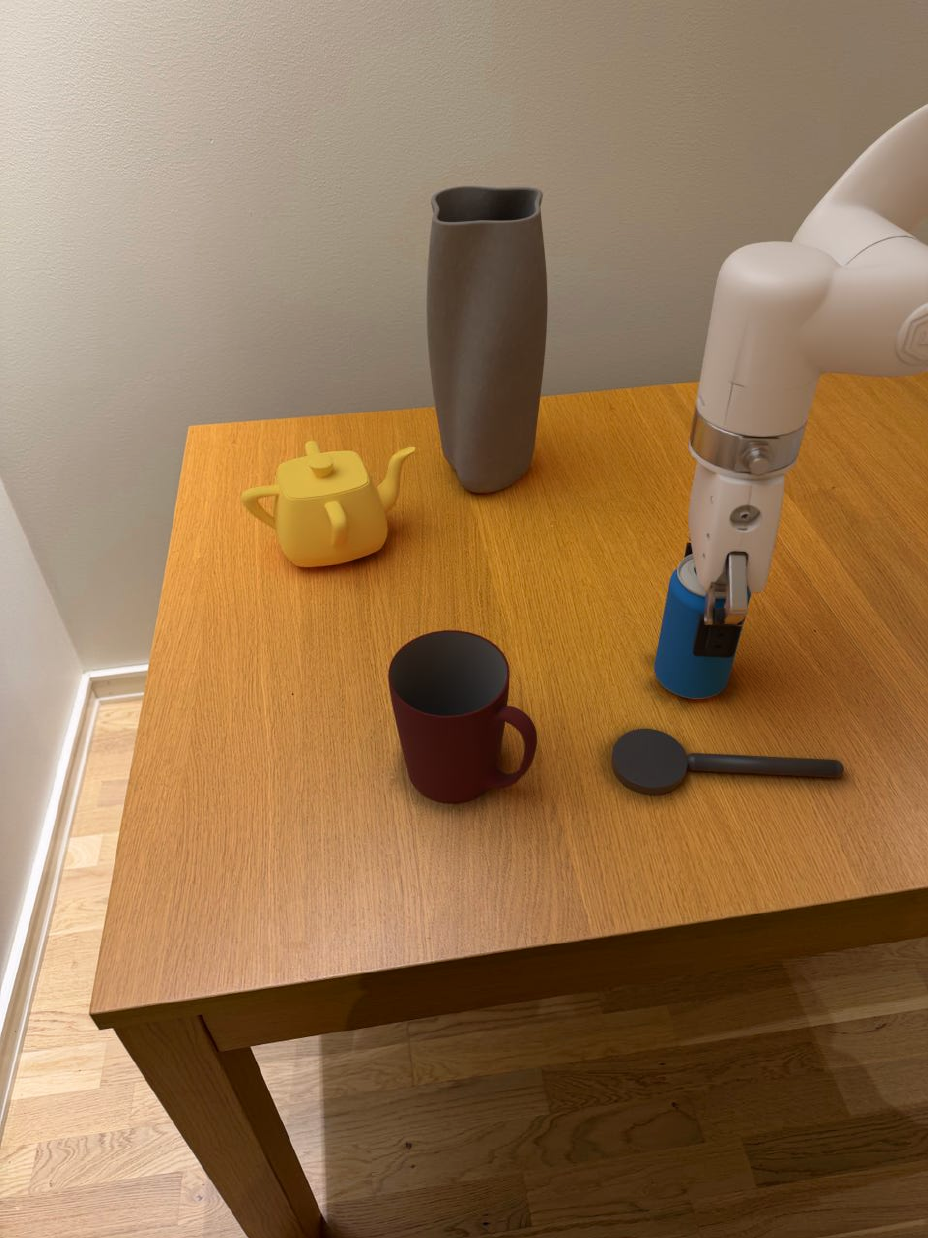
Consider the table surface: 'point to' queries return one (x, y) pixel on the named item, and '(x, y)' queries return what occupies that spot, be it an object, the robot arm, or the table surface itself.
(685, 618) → the beverage can
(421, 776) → the mug
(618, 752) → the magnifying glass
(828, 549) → the table surface
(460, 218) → the vase
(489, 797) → the table surface
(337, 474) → the teapot
